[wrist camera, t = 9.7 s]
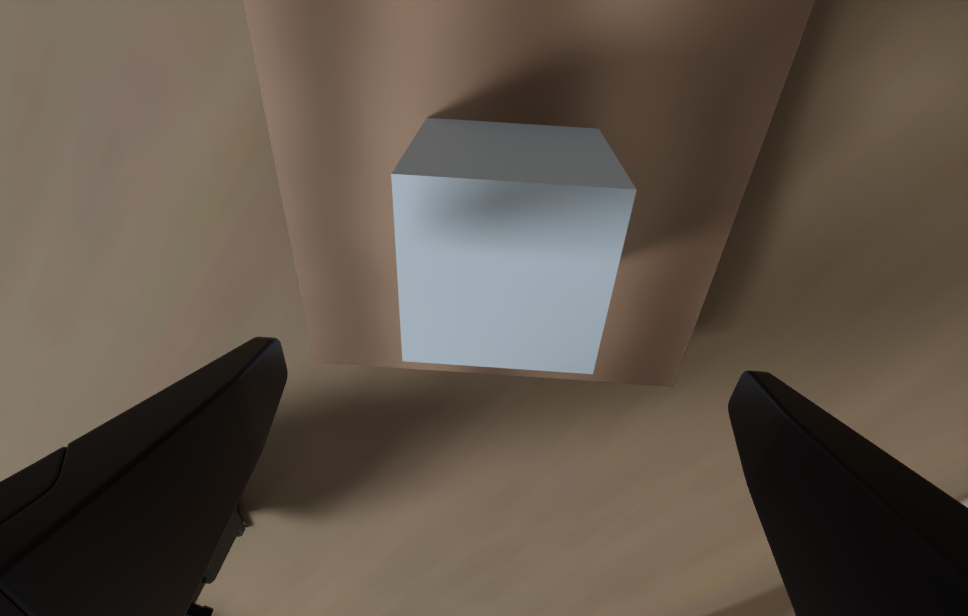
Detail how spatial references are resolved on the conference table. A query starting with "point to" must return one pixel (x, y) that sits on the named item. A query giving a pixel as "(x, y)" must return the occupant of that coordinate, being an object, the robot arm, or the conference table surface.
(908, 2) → the conference table surface
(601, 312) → the slate cube
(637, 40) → the walnut base
